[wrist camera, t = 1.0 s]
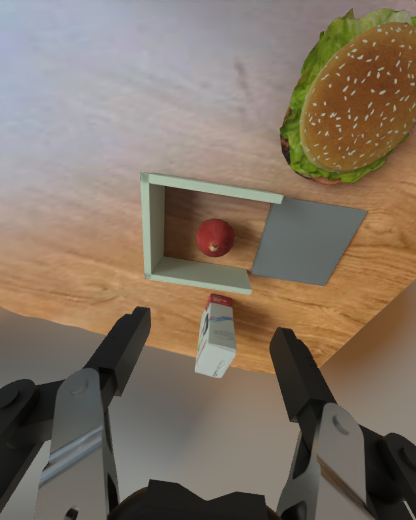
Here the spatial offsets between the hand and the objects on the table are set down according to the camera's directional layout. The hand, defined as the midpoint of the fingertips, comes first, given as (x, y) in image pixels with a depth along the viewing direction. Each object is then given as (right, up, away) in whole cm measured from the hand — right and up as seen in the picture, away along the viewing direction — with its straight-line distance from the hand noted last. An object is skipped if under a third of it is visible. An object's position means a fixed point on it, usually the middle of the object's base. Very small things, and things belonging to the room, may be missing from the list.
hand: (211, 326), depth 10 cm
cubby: (0, +9, +18) cm, 20 cm away
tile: (+16, +7, +18) cm, 25 cm away
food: (+15, +22, +11) cm, 29 cm away
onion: (+1, +9, +18) cm, 20 cm away
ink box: (+2, -7, +26) cm, 27 cm away
